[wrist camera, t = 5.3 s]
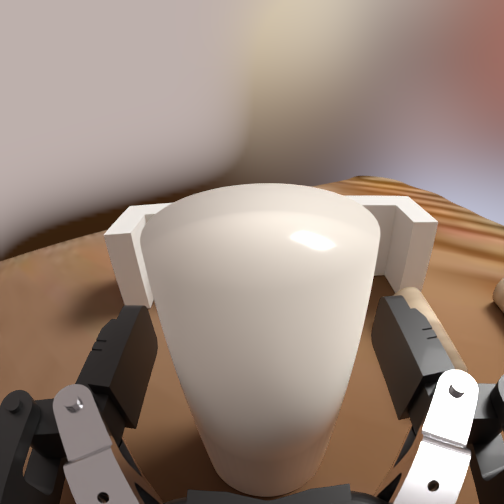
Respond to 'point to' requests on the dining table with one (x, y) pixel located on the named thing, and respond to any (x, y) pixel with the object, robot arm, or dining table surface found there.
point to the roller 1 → (433, 324)
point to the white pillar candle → (263, 320)
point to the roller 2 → (499, 295)
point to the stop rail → (382, 207)
